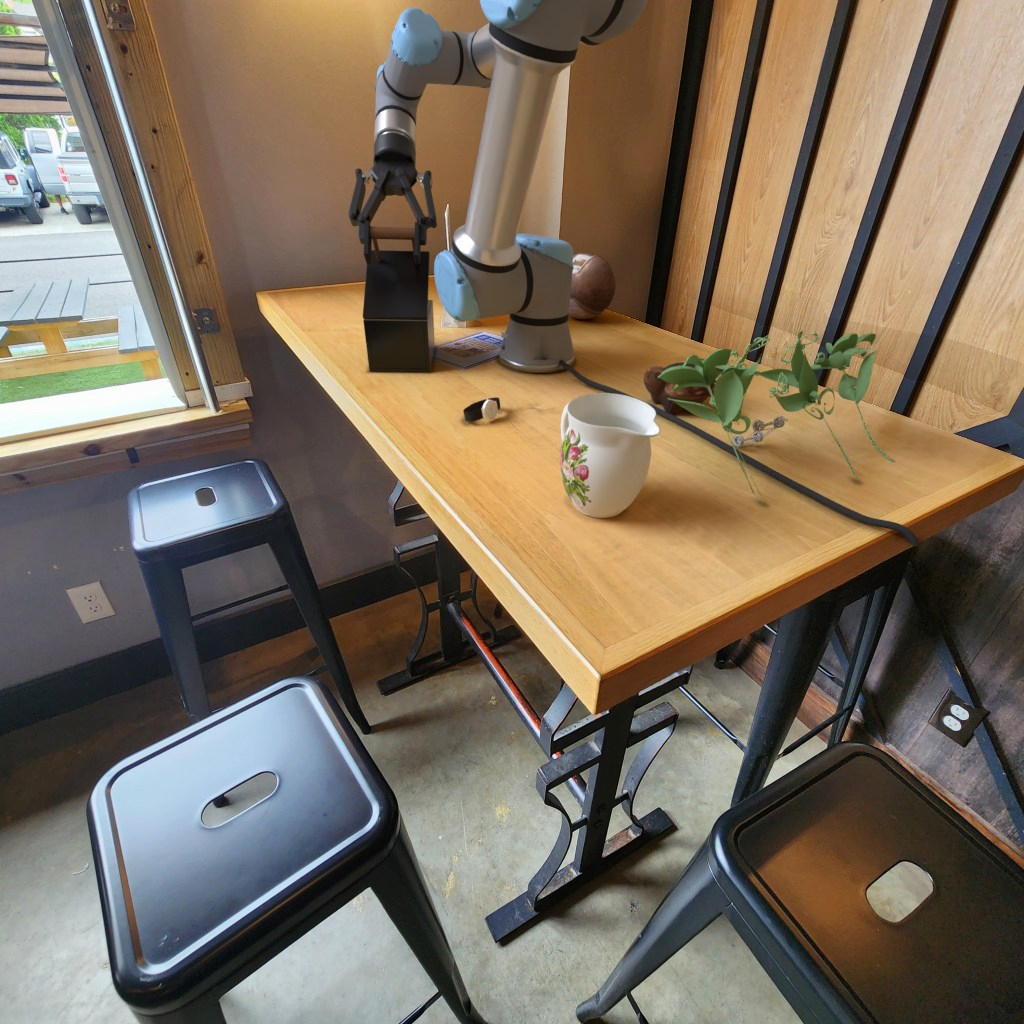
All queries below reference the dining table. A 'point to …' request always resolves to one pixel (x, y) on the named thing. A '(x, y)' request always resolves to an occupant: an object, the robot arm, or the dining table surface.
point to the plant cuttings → (802, 376)
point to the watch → (482, 409)
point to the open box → (400, 344)
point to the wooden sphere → (590, 286)
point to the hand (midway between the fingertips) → (392, 259)
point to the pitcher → (605, 451)
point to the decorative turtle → (664, 390)
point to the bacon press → (396, 279)
